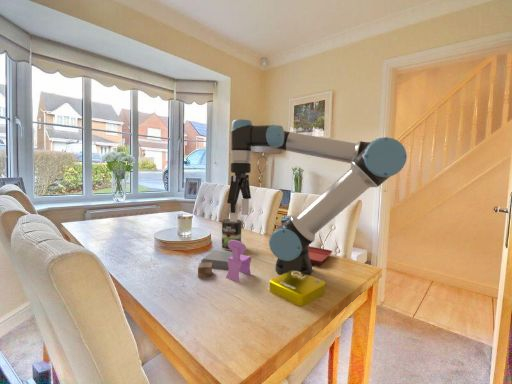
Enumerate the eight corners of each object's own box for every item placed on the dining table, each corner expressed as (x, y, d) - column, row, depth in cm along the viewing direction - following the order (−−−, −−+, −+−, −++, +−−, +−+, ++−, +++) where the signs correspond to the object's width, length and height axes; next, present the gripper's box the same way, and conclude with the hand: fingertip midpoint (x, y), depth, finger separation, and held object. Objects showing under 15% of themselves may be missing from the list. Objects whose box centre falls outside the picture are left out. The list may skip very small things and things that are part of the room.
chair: (253, 274, 107) (254, 237, 106) (241, 282, 100) (242, 243, 98) (236, 269, 111) (237, 234, 110) (223, 277, 104) (224, 239, 102)
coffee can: (237, 251, 134) (238, 223, 132) (218, 249, 136) (218, 222, 135) (243, 245, 144) (244, 219, 142) (225, 243, 146) (225, 218, 145)
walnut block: (212, 272, 109) (212, 262, 108) (211, 277, 104) (211, 267, 103) (199, 272, 108) (199, 262, 108) (197, 277, 103) (198, 267, 103)
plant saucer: (298, 249, 140) (298, 243, 140) (332, 256, 131) (333, 250, 131) (283, 260, 125) (283, 253, 124) (321, 268, 116) (321, 261, 115)
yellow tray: (266, 291, 94) (267, 278, 93) (293, 279, 104) (293, 267, 104) (301, 309, 83) (302, 294, 83) (327, 293, 94) (328, 280, 93)
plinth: (239, 258, 124) (239, 252, 123) (229, 269, 111) (229, 262, 111) (213, 255, 127) (213, 249, 127) (201, 265, 115) (201, 258, 114)
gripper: (241, 162, 114) (240, 211, 116) (218, 161, 90) (217, 223, 92) (258, 162, 112) (257, 212, 114) (239, 162, 88) (238, 225, 90)
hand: (239, 217), depth 103 cm, fingers open, 13 cm apart
